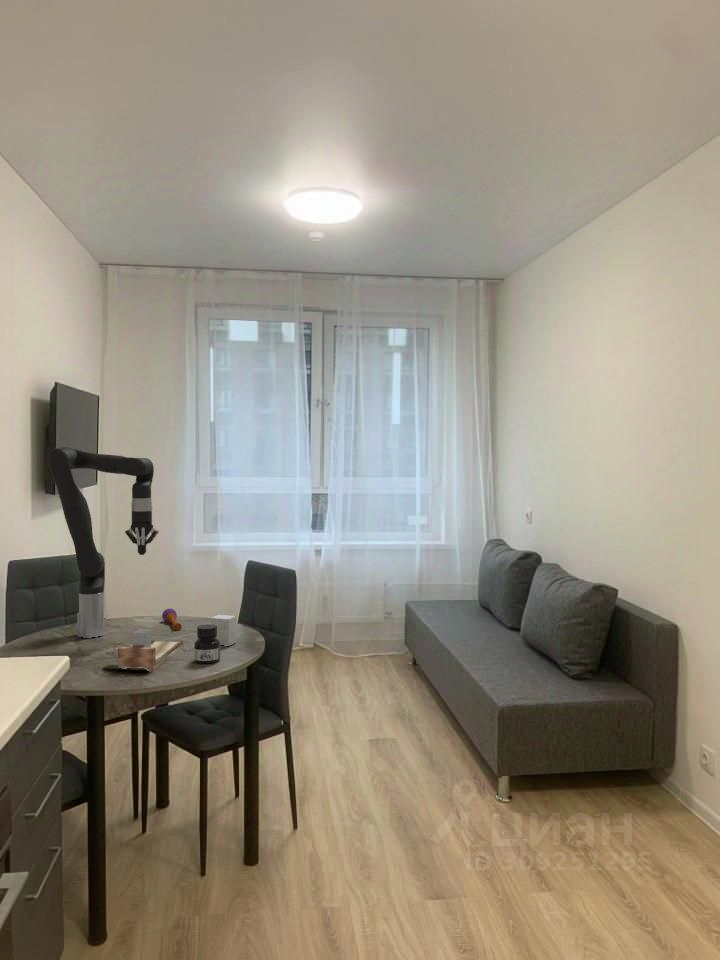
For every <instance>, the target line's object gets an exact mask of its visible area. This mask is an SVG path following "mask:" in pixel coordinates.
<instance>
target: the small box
mask: <svg viewBox="0 0 720 960" xmlns="http://www.w3.org/2000/svg"><path fill="white" fill-rule="evenodd" d="M210 624H212V625H216V626H217V637H216V638H217V639H218V640H219V641H220V645H227V646H230V645H232V644H234V643H235V644H237V616H235V615H227V614H224V615H223V614H217V615H214V616H212V617H210ZM235 644H234V645H235ZM227 646H226V647H227ZM232 646H233V645H232ZM230 647H231V646H230Z"/></svg>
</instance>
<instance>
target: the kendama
mask: <svg viewBox="0 0 720 960" xmlns="http://www.w3.org/2000/svg"><path fill="white" fill-rule="evenodd" d="M177 616H178V615H177V612H176V610H175V609H173V608H171V607H170V608H167V609H165V610H163V612H162V615H161V617H162V620H163V621H164V622H166V623H167V622H168V623H169V624H170V623H171V624H172V628H173V629H172V630H174V631H175V632H178V630H180V631H181V629H182V625H181V624H180V622H178V621H176V619H177Z"/></svg>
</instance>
